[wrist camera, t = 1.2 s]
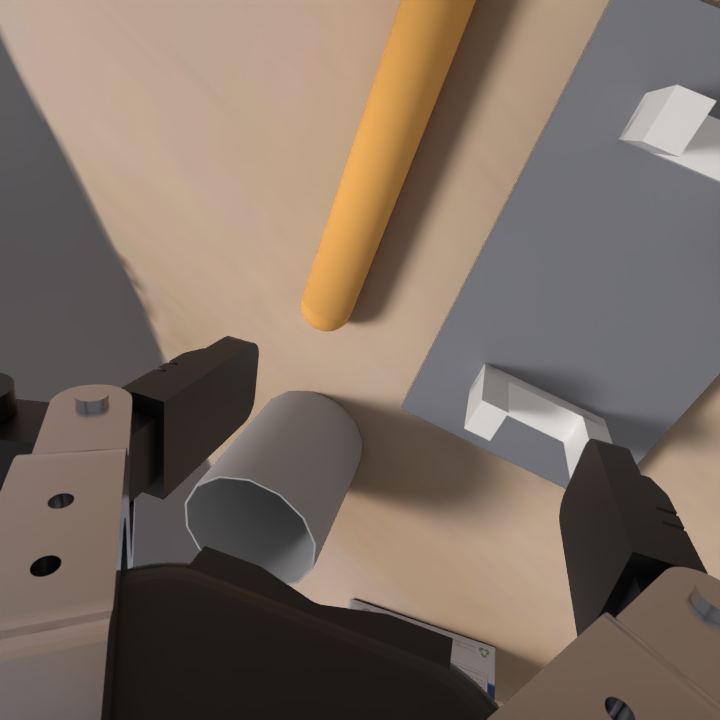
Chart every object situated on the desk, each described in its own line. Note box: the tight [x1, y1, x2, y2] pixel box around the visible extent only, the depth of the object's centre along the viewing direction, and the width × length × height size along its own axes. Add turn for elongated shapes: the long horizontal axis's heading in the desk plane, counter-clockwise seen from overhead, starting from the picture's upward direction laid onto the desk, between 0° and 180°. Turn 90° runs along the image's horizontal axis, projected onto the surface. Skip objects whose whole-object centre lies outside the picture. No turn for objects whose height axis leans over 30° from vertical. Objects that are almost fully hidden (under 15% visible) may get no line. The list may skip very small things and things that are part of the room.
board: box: [401, 0, 720, 489], centre depth 24 cm, size 14×24×6 cm, turn 159°
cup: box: [185, 391, 363, 585], centre depth 32 cm, size 8×8×10 cm
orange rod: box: [301, 0, 476, 331], centre depth 25 cm, size 22×3×3 cm, turn 159°
